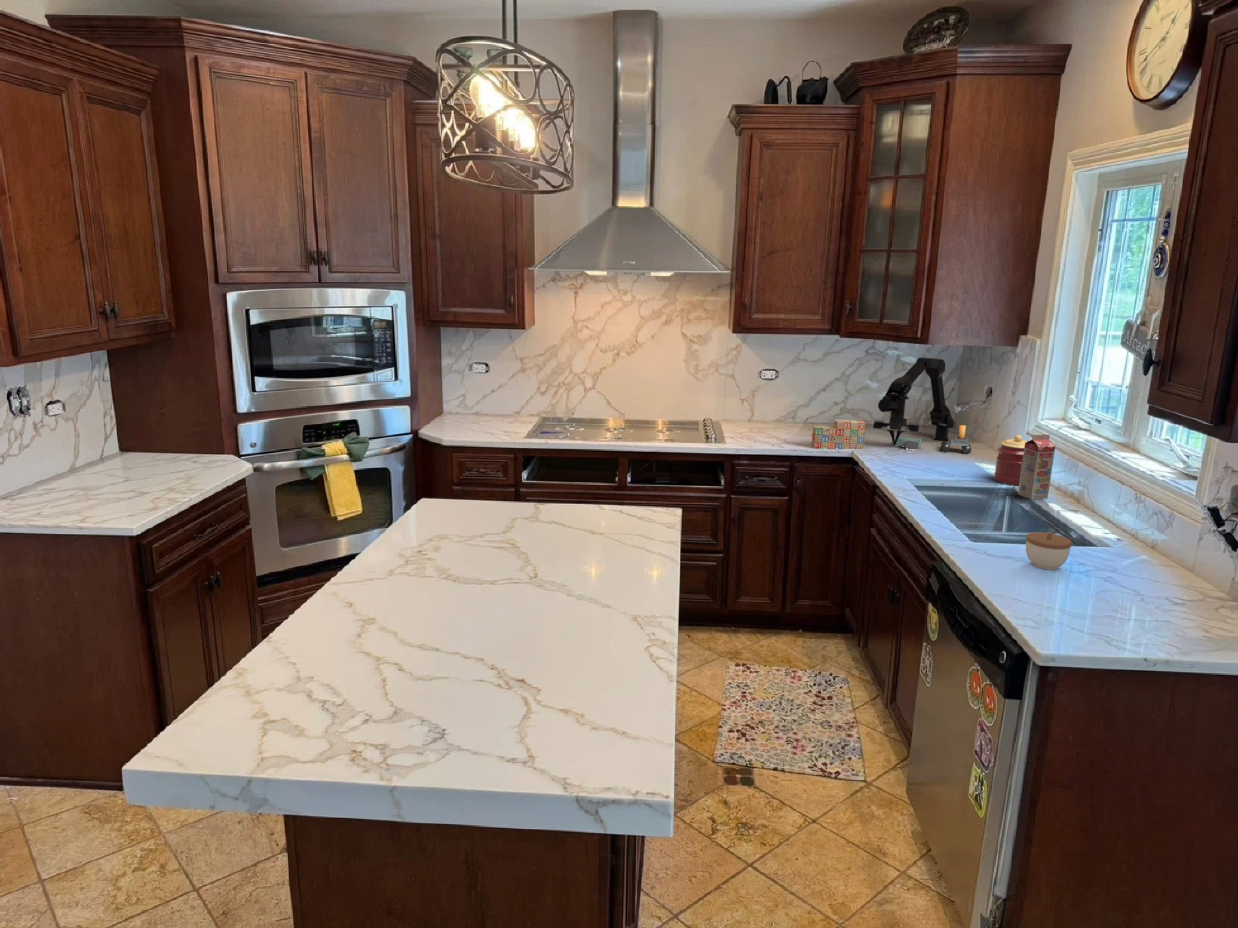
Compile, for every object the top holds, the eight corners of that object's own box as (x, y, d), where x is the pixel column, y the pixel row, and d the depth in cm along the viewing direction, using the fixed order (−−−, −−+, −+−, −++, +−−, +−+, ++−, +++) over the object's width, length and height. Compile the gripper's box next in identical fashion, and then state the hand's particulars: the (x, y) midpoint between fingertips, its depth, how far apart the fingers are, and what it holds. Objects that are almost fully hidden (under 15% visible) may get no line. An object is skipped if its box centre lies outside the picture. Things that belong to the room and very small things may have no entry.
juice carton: (1018, 494, 291) (1026, 433, 286) (1034, 493, 292) (1042, 432, 287) (1031, 499, 285) (1039, 437, 279) (1047, 498, 286) (1056, 436, 281)
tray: (894, 443, 371) (895, 437, 371) (920, 445, 368) (921, 439, 367) (894, 446, 365) (894, 439, 365) (920, 448, 362) (921, 442, 361)
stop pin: (957, 440, 357) (959, 424, 356) (964, 441, 356) (965, 425, 355) (957, 441, 355) (959, 425, 353) (964, 442, 354) (966, 426, 352)
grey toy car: (940, 448, 363) (941, 434, 362) (970, 451, 359) (971, 437, 357) (940, 452, 356) (941, 438, 354) (970, 454, 352) (972, 440, 350)
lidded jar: (1018, 566, 220) (1023, 533, 218) (1028, 556, 228) (1032, 523, 226) (1063, 576, 213) (1068, 542, 211) (1071, 565, 222) (1076, 532, 219)
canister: (1010, 487, 301) (1017, 439, 296) (985, 478, 313) (991, 432, 308) (1039, 485, 304) (1046, 438, 300) (1014, 476, 316) (1020, 431, 312)
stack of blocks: (813, 448, 358) (815, 421, 355) (811, 445, 364) (813, 418, 362) (863, 450, 357) (866, 422, 354) (860, 447, 363) (863, 419, 360)
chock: (906, 448, 363) (906, 440, 362) (918, 449, 361) (918, 441, 360) (905, 450, 359) (906, 442, 358) (917, 451, 357) (918, 443, 356)
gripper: (874, 411, 354) (870, 446, 358) (920, 414, 348) (916, 450, 352) (875, 407, 365) (872, 441, 368) (920, 410, 358) (916, 445, 362)
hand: (894, 445), depth 362 cm, fingers closed
